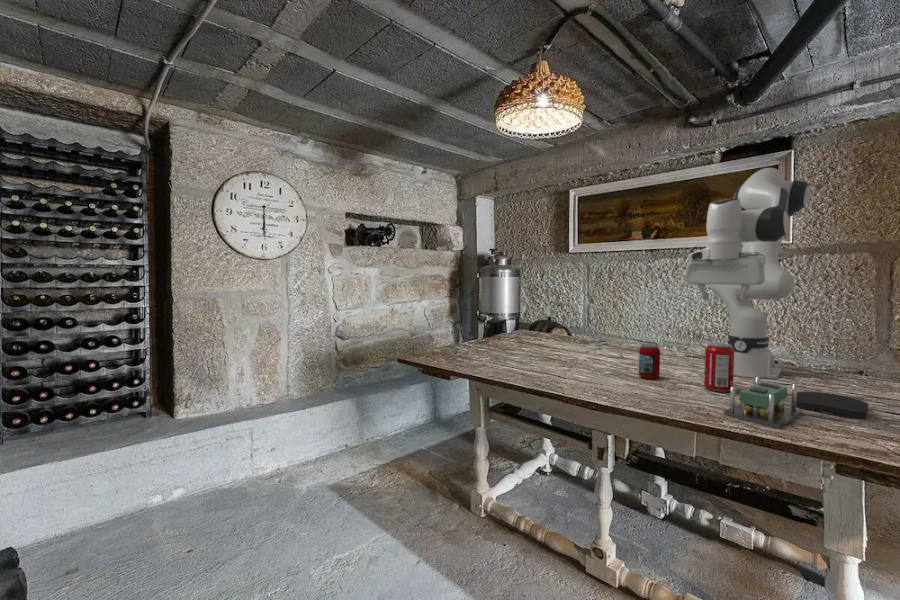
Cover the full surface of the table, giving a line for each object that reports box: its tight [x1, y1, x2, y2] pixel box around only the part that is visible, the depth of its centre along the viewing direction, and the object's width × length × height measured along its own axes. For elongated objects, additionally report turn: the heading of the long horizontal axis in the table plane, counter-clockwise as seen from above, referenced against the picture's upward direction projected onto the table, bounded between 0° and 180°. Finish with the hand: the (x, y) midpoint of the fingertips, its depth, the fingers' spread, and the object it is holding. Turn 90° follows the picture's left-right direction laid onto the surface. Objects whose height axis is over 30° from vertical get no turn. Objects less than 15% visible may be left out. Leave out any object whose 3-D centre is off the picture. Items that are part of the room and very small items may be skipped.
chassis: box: [723, 377, 803, 430], centre depth 107 cm, size 17×12×8 cm
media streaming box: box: [796, 391, 869, 420], centre depth 112 cm, size 15×15×3 cm
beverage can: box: [638, 343, 661, 381], centre depth 144 cm, size 7×7×12 cm
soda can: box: [703, 342, 735, 393], centre depth 129 cm, size 8×8×15 cm
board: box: [739, 381, 788, 408], centre depth 107 cm, size 14×6×4 cm, turn 124°
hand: (722, 299), depth 120 cm, fingers open, 8 cm apart
